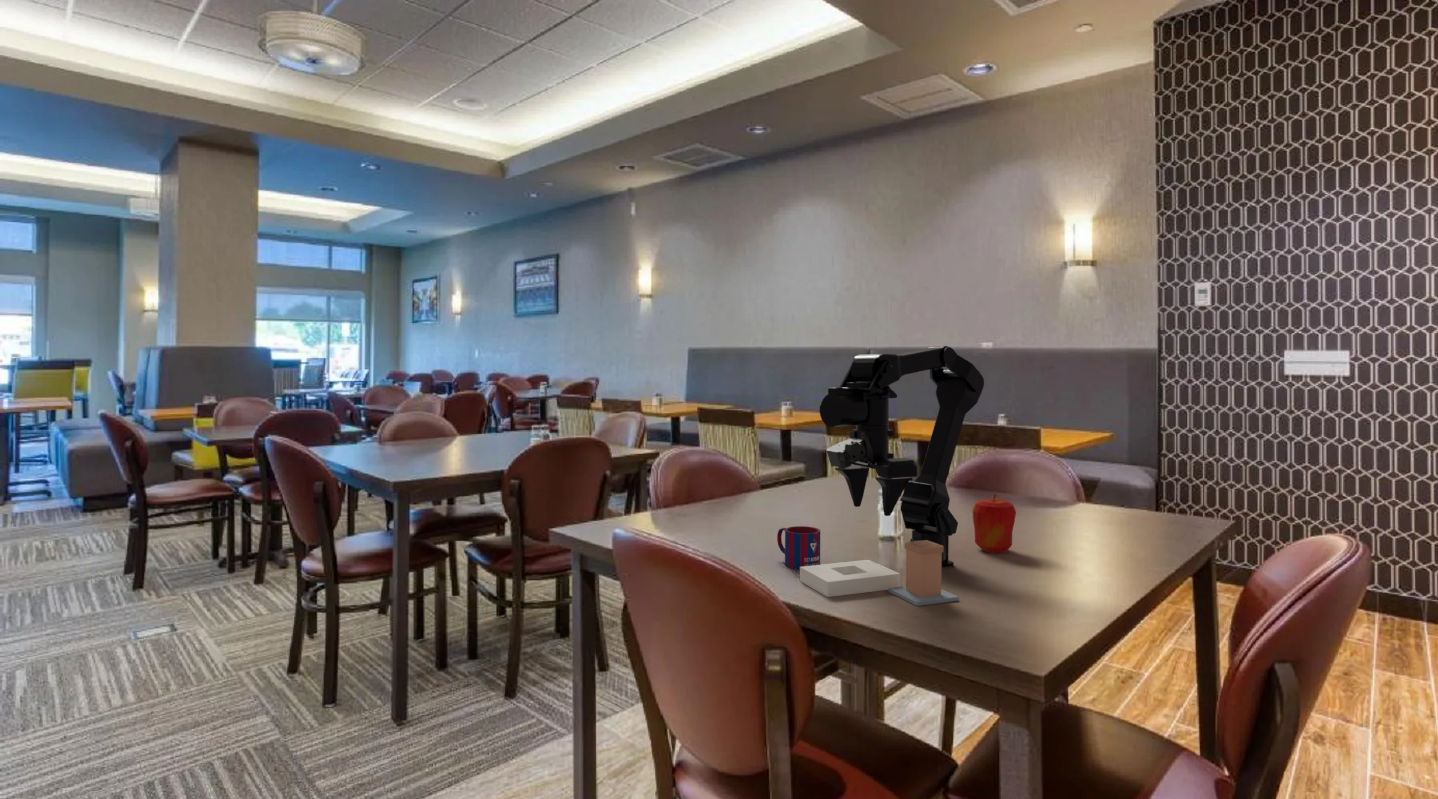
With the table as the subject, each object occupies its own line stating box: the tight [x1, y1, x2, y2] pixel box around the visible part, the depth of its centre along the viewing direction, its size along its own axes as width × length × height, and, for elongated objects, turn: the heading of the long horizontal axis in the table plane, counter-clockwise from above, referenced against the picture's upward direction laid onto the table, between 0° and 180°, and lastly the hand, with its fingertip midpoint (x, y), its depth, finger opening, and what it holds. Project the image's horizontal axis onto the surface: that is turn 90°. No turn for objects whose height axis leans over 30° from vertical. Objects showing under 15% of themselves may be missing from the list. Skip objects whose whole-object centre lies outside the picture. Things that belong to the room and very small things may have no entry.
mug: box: [776, 525, 821, 570], centre depth 143 cm, size 7×10×7 cm
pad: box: [887, 585, 960, 607], centre depth 122 cm, size 8×8×1 cm
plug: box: [904, 540, 944, 597], centre depth 122 cm, size 4×4×8 cm
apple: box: [971, 493, 1017, 554], centre depth 152 cm, size 9×8×12 cm
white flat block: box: [799, 559, 901, 598], centre depth 128 cm, size 14×10×2 cm
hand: (871, 511), depth 133 cm, fingers open, 9 cm apart
